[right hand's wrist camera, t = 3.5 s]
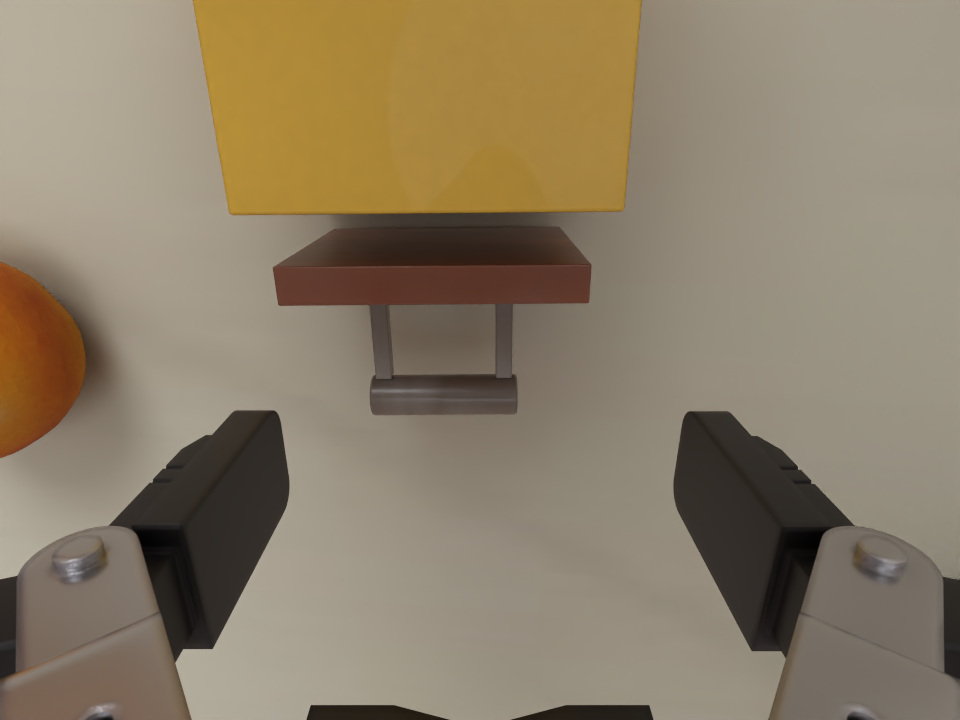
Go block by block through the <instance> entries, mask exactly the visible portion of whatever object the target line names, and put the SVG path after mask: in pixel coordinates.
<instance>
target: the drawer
mask: <svg viewBox="0 0 960 720" xmlns="http://www.w3.org/2000/svg"><path fill="white" fill-rule="evenodd" d="M273 272H274V278H275V285H276V292H277V299H278V305H280V306H299V305H370V315H371V327H372V338H373V350H374V362H375V373H376V375H374V376H373V377H372V380H371V385H370V406H371V410H372V413H373V414H374V415H473V414H516V413H517V377H516V375H515V374H512V314H513V304H545V303H589V296H590V280H591V264H590V262H589V261H588V260H587V259H586V258H585V257H584V255H583V254H582V253H581V252H580V251H579V250H578V248H577V247H576V246H575V245H574V244H573V243H572V241H571V240H570V239H569V238H568V237H567V235H566V234H565V233H564V232H563V231H562V230H561V228H560V227H500V228H391V229H334V230H332V231H331V232H329V233H327V234H326V235H324V236H322V237H321V238H319V239H318V240H316V241H314V242H313V243H311V244H310V245H308V246H306V247H305V248H303V249H302V250H300V251H298V252H297V253H295V254H293V255H292V256H290V257H289V258H287V259H285V260H284V261H282V262H281V263H279V264H277V265H276V266H274V267H273ZM422 304H496V333H495V372H496V374H455V375H393V373H394V369H393V355H392V341H391V327H390V314H389V305H422Z"/></svg>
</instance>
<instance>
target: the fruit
mask: <svg viewBox="0 0 960 720" xmlns="http://www.w3.org/2000/svg"><path fill="white" fill-rule="evenodd" d="M85 369H86V359H85V350H84V344H83V340H82V337H81V333H80V331H79V329H78V327H77V325H76V323H75V322H74V320H73V318H72V317H71V315H70V314H69V313H68V312H67V311H66V309H65V308H64V307H63V306H62V305H61V304H60V303H59V302H58V301H57V300H56V299H55V298H54V297H53V296H52V295H51V294H50V293H49V292H48V291H47V290H46V289H45V288H44V287H43V286H42V285H41V284H39V283H38V282H37V281H36V280H35V279H33V278H32V277H31V276H29V275H27V274H25V273H23V272H21V271H19V270H18V269H16V268H14V267H11V266H9V265H7V264H4V263H1V262H0V458H2V457H5V456H7V455H10V454H13V453H15V452H17V451H19V450H21V449H23V448H25V447H27V446H28V445H30V444H31V443H33V442H34V441H36V440H38V439H39V438H41V437H42V436H44V435H45V434H46V433H48V432H49V431H50V430H52V429H53V428H54V427H55V426H57V425H58V424H59V422H60V421H61V420H62V419H63V418H64V416H65V415H66V414H67V413H68V411H69V410H70V408H71V407H72V405H73V403H74V402H75V400H76V399H77V397H78V396H79V393H80V390H81V387H82V384H83V381H84V377H85Z"/></svg>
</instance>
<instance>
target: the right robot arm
mask: <svg viewBox="0 0 960 720" xmlns="http://www.w3.org/2000/svg"><path fill="white" fill-rule="evenodd" d="M288 497H289V475H288V468H287V461H286V455H285V448H284V441H283V434H282V428H281V422H280V418H279V415H278V414H277V412H276V411H234V412H233V413H232V414H231V415H230V416H229V417H228V418H227V419H226V420H225V421H224V422H223V424H222V425H221V426H220V427H219V428H218V429H217V430H216V431H215V433H214V434H213V435H205V436H204V437H202V438H200V439H199V440H197V441H195V442H193V443H192V444H190V445H188V446H186V447H185V448H183V449H182V450H181V451H180V452H179V453H178V454H177V455H176V456H175V457H174V458H173V459H172V460H171V461H170V462H169V463H168V464H167V465H166V469H162V471H161V472H160V473H159V474H158V475H157V476H156V477H155V478H154V479H153V483H149V484H148V485H147V486H146V487H145V488H144V489H143V490H142V491H141V493H140V494H139V495H138V496H137V497H136V498H135V499H134V500H133V501H132V502H131V503H130V504H129V505H128V506H127V507H126V508H125V509H124V510H123V511H122V512H121V513H120V515H119V516H118V517H117V518H116V519H115V520H114V521H113V522H112V523H111V524H110V525H109V526H102V527H95V528H90V529H86V530H83V531H79V532H76V533H73V534H71V535H68V536H66V537H63V538H61V539H59V540H57V541H55V542H53V543H51V544H49V545H48V546H46V547H45V548H43V549H42V550H40V551H39V552H37V553H36V554H35V555H34V556H32V557H31V558H30V559H29V560H28V561H27V562H26V563H25V565H24V566H23V567H22V569H21V570H20V572H19V574H18V576H15V577H10V578H5V579H0V720H191V716H190V713H189V709H188V706H187V702H186V699H185V695H184V692H183V689H182V685H181V682H180V678H179V675H178V671H177V668H176V665H175V662H176V660H177V659H178V657H179V655H180V654H181V652H182V650H183V649H213V647H214V645H215V643H216V641H217V640H218V638H219V636H220V634H221V632H222V630H223V628H224V626H225V624H226V622H227V620H228V618H229V617H230V615H231V613H232V611H233V609H234V607H235V605H236V603H237V601H238V599H239V597H240V596H241V594H242V592H243V590H244V588H245V586H246V584H247V582H248V580H249V578H250V576H251V574H252V573H253V571H254V569H255V567H256V565H257V563H258V561H259V559H260V557H261V555H262V553H263V551H264V550H265V548H266V546H267V544H268V542H269V540H270V538H271V536H272V534H273V532H274V530H275V528H276V527H277V525H278V523H279V521H280V519H281V517H282V515H283V513H284V511H285V509H286V506H287V502H288ZM674 498H675V503H676V507H677V510H678V512H679V514H680V516H681V518H682V520H683V522H684V524H685V526H686V527H687V529H688V531H689V533H690V535H691V537H692V539H693V541H694V543H695V545H696V546H697V548H698V550H699V552H700V554H701V556H702V558H703V560H704V562H705V563H706V565H707V567H708V569H709V571H710V573H711V575H712V577H713V579H714V580H715V582H716V584H717V586H718V588H719V590H720V592H721V594H722V596H723V598H724V599H725V601H726V603H727V605H728V607H729V609H730V611H731V613H732V615H733V616H734V618H735V620H736V622H737V624H738V626H739V628H740V630H741V632H742V633H743V635H744V637H745V639H746V641H747V643H748V645H749V647H750V649H751V650H752V651H782V653H783V654H784V656H785V658H786V661H785V665H784V668H783V671H782V675H781V678H780V682H779V685H778V689H777V692H776V695H775V699H774V702H773V706H772V709H771V713H770V716H769V720H960V580H956V579H951V578H946V577H942V574H941V572H940V570H939V569H938V567H937V566H936V565H935V563H934V562H933V561H932V560H931V559H930V558H929V557H928V556H926V555H925V554H924V553H923V552H921V551H920V550H918V549H917V548H915V547H914V546H912V545H911V544H909V543H907V542H905V541H903V540H901V539H899V538H897V537H894V536H892V535H889V534H887V533H884V532H881V531H877V530H874V529H870V528H865V527H858V526H854V525H853V524H852V523H851V522H850V520H849V519H848V518H847V517H846V516H845V515H844V514H843V513H842V512H841V511H840V510H839V509H838V508H837V507H836V506H835V505H834V504H833V503H832V502H831V501H830V500H829V499H828V498H827V497H826V496H825V495H824V493H823V492H822V491H821V490H820V489H819V488H818V487H817V486H816V485H815V484H811V480H810V479H809V478H808V477H807V476H806V475H805V474H804V473H803V472H802V471H801V470H798V466H797V465H796V464H795V463H794V462H793V461H792V460H791V459H790V458H789V457H788V456H787V455H786V454H785V453H784V452H783V451H782V450H781V449H779V448H777V447H775V446H774V445H772V444H770V443H768V442H767V441H765V440H763V439H762V438H760V437H758V436H751V435H750V434H749V433H748V432H747V431H746V429H745V428H744V427H743V426H742V425H741V424H740V423H739V422H738V421H737V420H736V418H735V417H734V416H733V415H732V414H731V413H730V412H727V411H689V412H687V413H686V415H685V417H684V419H683V423H682V429H681V435H680V442H679V449H678V455H677V462H676V469H675V475H674ZM307 720H448V719H444V718H440V717H437V716H433V715H429V714H425V713H421V712H418V711H414V710H410V709H406V708H402V707H399V706H395V705H311V707H310V710H309V713H308V717H307ZM512 720H653V717H652V713H651V710H650V707H649V705H565V706H561V707H558V708H554V709H550V710H546V711H542V712H539V713H535V714H531V715H527V716H523V717H520V718H516V719H512Z"/></svg>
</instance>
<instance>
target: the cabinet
mask: <svg viewBox="0 0 960 720" xmlns="http://www.w3.org/2000/svg"><path fill="white" fill-rule="evenodd" d="M641 3H642V0H193V4H194V10H195V16H196V22H197V27H198V33H199V39H200V45H201V51H202V57H203V62H204V68H205V74H206V80H207V86H208V92H209V98H210V103H211V109H212V115H213V121H214V127H215V133H216V138H217V144H218V150H219V156H220V162H221V168H222V174H223V179H224V185H225V191H226V197H227V203H228V209H229V213H230V214H232V215H303V214H409V213H516V212H621V211H623V210H624V207H625V195H626V183H627V171H628V159H629V147H630V135H631V123H632V111H633V99H634V87H635V75H636V63H637V51H638V39H639V27H640V15H641Z"/></svg>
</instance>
